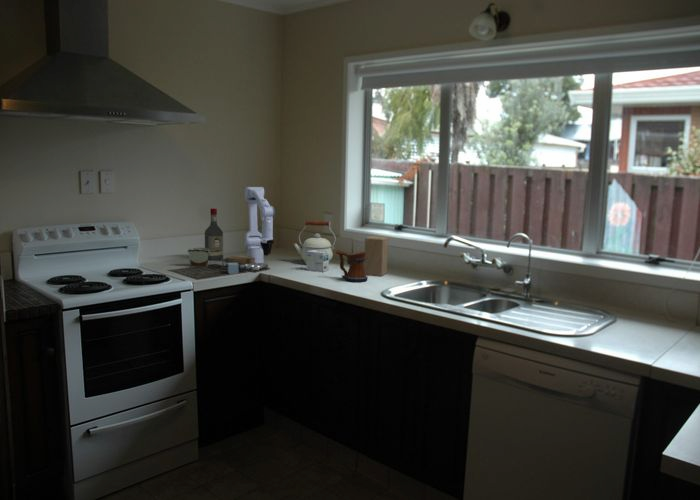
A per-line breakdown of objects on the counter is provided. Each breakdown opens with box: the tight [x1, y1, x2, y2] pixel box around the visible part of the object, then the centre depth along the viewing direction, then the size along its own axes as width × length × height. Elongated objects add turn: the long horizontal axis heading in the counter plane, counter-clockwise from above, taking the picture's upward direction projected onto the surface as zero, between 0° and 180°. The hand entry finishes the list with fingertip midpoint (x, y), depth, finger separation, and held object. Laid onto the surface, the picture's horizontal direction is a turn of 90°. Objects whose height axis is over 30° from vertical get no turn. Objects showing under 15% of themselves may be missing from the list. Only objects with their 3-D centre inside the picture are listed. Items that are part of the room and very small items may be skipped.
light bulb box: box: [306, 250, 330, 273], centre depth 322 cm, size 11×7×11 cm, turn 65°
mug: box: [336, 249, 369, 283], centre depth 299 cm, size 18×12×15 cm, turn 57°
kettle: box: [293, 220, 337, 265], centre depth 342 cm, size 25×18×25 cm
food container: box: [187, 247, 210, 268], centre depth 326 cm, size 12×6×10 cm, turn 84°
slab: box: [225, 255, 255, 265], centre depth 324 cm, size 10×12×2 cm
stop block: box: [227, 263, 239, 275], centre depth 309 cm, size 5×5×6 cm
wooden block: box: [364, 235, 389, 277], centre depth 314 cm, size 10×10×20 cm
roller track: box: [219, 261, 271, 274], centre depth 323 cm, size 13×24×3 cm, turn 61°
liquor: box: [204, 207, 224, 261], centre depth 347 cm, size 9×9×30 cm
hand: (267, 254), depth 314 cm, fingers open, 4 cm apart
